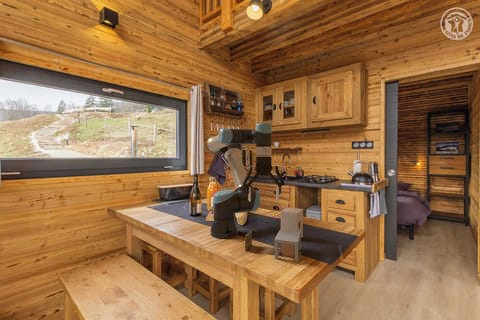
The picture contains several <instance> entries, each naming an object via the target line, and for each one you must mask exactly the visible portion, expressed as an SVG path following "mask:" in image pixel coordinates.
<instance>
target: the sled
mask: <svg viewBox="0 0 480 320" xmlns="http://www.w3.org/2000/svg"><path fill="white" fill-rule="evenodd" d="M244 250H245V252H248V253H254V254H260V255H269V256H275V247H268V246H261V245H253V231H252V230H249V231H248V232H247V233H246V234H245V235H244ZM301 255H302V251H301V250H298V260H300V259H301V257H302V256H301ZM278 257H283V258H288V259H289V258H290V259H295V255H294V257H290V256H283V255H281V248H280V247H279V248H278Z"/></svg>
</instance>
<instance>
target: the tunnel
mask: <svg viewBox="0 0 480 320" xmlns="http://www.w3.org/2000/svg"><path fill="white" fill-rule="evenodd" d="M281 243H288V244H295V258H294V262H295V263H298V262H299V259H298V251H301V250H302V238H301V231H296V230H286V229H281V228H280V229H279V230H278V232H277V234H276V236H275V238H274V248H275V255H274V260H279V256H278V249H280V248H281Z"/></svg>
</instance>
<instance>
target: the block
mask: <svg viewBox="0 0 480 320" xmlns="http://www.w3.org/2000/svg"><path fill="white" fill-rule="evenodd" d="M281 255H283V256H290V257H294V255H295V244H288V243H281Z"/></svg>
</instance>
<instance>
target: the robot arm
mask: <svg viewBox="0 0 480 320" xmlns="http://www.w3.org/2000/svg"><path fill="white" fill-rule="evenodd" d="M272 135H273V131H272V124H271V123H269V122H258V123H256V124H255V128H254V129H253V128H252V129H251V128H228V127H226V128H220V129H219V131H218V134H217V135H216V136H210V137H209V138H207V140H206V142H205V147H206V149H207V151H208V152H209V153H211V154H215V155H223V156H224V159H225V160H227V163H228V165H229V169H230V173H231V177H232V180H233V184H234V186H235V187H234V188H235V189H223V190H218V191H216V192H214V194H213V196H212V197H213V199H212V207H213V209H212V211H213V220H212V224H211V227H210V236H211V237H212V238H217V239H229V238H234V237H236V236H237V235H239V227H238V224H237V221H236V217H235V216H236V214H239V213H240V214H241V213H252V212H255V211H257V210H258V209H259V208H260V206H261V194H260V192H259V190H257V189H254V186H253V185H252V184H253V183H254V182H255V181H256V179H257V178H258V177H259V176H261V177H263V176H266V177H267V176H269V177H270V178H271V180H273V182H274V183H275V184H276V186H275V200H276V201H279V202H280V194H281V193H282V186H285V185H286V183H285V181H284V179H283V177H282V175H281V173H280V171H279V166H277V165H274V166H273V164H272V155H273V154H272V145H273V144H272V143H273V142H272V137H273V136H272ZM243 145H255V166H251V165H250V166H249V167H248V172H247V173H246V169H245V167H244V164H243V160H242V157H241V156H242V154H243V153H242V152H243V150H244V147H243ZM254 171H255V173H254V175H253V176H252V177H251V175H252V173H253V172H254ZM272 171H275V174H276V176H277V178H278V179H277V178H276V177H275V176H274V174H273V173H272Z"/></svg>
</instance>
